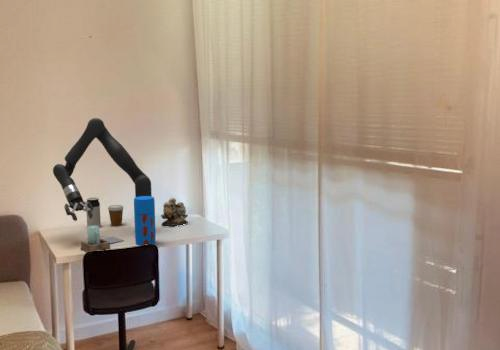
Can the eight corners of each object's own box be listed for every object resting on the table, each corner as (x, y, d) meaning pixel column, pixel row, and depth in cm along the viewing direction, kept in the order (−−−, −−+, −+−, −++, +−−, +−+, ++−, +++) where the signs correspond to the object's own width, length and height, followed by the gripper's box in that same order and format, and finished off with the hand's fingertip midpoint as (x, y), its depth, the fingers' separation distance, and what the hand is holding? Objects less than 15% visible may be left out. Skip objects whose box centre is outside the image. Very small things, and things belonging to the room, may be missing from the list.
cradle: (99, 245, 258) (98, 238, 257) (110, 249, 250) (109, 242, 250) (80, 249, 250) (80, 241, 250) (91, 253, 243) (91, 246, 242)
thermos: (137, 240, 267) (135, 196, 264) (156, 239, 268) (155, 195, 265) (134, 246, 256) (132, 199, 253) (154, 245, 257) (153, 199, 254)
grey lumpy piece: (165, 228, 293) (164, 201, 291) (157, 225, 302) (156, 198, 300) (191, 224, 304) (190, 197, 301) (182, 220, 313) (181, 195, 311)
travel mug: (100, 228, 294) (98, 199, 292) (86, 228, 293) (85, 199, 290) (101, 224, 302) (100, 196, 299) (88, 225, 300) (86, 197, 298)
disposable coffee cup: (119, 227, 296) (119, 208, 294) (105, 226, 298) (104, 207, 296) (126, 223, 305) (126, 205, 304) (113, 222, 307) (112, 204, 306)
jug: (96, 246, 256) (95, 224, 254) (104, 249, 250) (103, 227, 248) (85, 248, 251) (84, 226, 250) (93, 252, 245) (92, 229, 244)
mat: (113, 237, 273) (113, 236, 273) (123, 241, 266) (123, 240, 265) (95, 241, 265) (95, 240, 265) (105, 245, 258) (105, 244, 258)
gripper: (62, 192, 255) (73, 216, 249) (87, 189, 265) (98, 212, 259) (58, 200, 259) (68, 225, 253) (83, 197, 269) (94, 220, 263)
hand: (83, 218), depth 256 cm, fingers open, 8 cm apart
